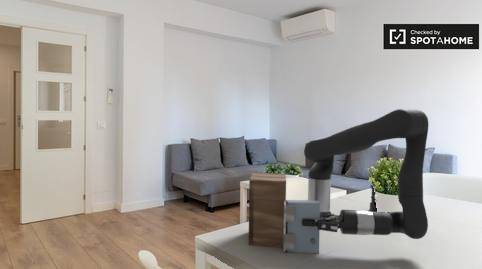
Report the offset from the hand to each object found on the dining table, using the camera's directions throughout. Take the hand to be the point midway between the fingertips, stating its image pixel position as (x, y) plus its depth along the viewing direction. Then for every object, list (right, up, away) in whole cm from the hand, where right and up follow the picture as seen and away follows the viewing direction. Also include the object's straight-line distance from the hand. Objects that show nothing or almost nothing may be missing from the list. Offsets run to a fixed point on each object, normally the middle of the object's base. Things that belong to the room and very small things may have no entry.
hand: (301, 219), depth 108 cm
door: (0, -10, +1) cm, 10 cm away
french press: (+45, -8, +47) cm, 65 cm away
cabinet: (-9, -9, +8) cm, 15 cm away
